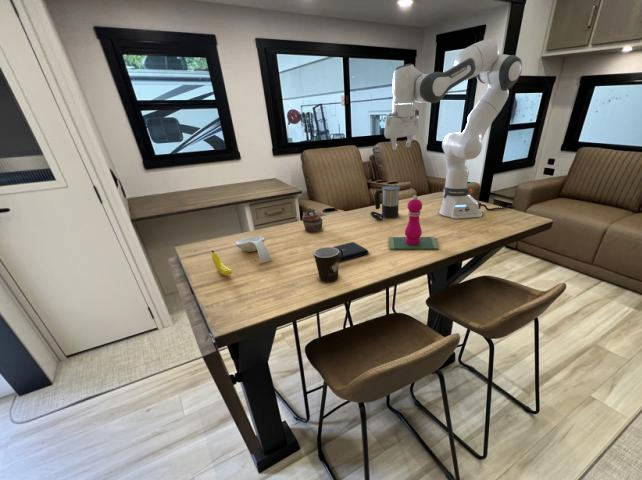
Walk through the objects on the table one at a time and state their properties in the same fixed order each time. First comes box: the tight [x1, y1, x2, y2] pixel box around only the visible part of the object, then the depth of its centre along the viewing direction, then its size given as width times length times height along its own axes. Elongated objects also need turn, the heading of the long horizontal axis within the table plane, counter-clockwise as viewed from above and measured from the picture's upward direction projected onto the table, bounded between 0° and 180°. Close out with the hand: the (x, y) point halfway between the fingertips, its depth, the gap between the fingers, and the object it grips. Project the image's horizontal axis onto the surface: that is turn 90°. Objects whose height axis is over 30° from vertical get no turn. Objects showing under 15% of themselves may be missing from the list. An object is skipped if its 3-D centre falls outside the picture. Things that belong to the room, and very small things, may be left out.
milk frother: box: [370, 185, 401, 221], centre depth 165 cm, size 14×16×15 cm
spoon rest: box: [235, 236, 272, 264], centre depth 130 cm, size 24×12×7 cm, turn 36°
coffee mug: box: [313, 246, 343, 284], centre depth 110 cm, size 12×9×10 cm
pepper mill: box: [404, 195, 423, 245], centre depth 132 cm, size 7×7×20 cm
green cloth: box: [389, 236, 439, 251], centre depth 137 cm, size 20×13×1 cm, turn 88°
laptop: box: [332, 241, 370, 263], centre depth 129 cm, size 16×20×2 cm
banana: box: [211, 250, 233, 277], centre depth 115 cm, size 3×19×6 cm, turn 40°
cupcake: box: [301, 208, 324, 234], centre depth 152 cm, size 10×10×10 cm
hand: (401, 148), depth 140 cm, fingers open, 8 cm apart
